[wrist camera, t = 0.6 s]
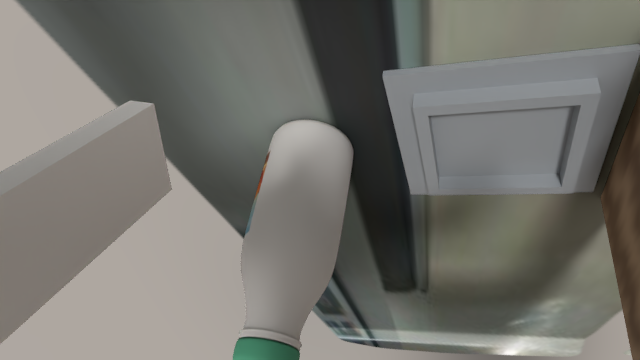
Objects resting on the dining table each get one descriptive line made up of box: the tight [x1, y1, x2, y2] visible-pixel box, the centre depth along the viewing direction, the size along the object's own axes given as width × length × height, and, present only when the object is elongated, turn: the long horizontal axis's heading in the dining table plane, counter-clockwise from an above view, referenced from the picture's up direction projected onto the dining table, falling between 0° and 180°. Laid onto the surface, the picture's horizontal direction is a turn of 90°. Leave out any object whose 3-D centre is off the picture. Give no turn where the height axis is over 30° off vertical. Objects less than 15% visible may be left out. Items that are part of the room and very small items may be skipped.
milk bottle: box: [233, 119, 354, 360], centre depth 37 cm, size 8×8×20 cm
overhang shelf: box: [601, 93, 640, 360], centre depth 27 cm, size 20×14×32 cm
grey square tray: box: [383, 44, 640, 195], centre depth 36 cm, size 16×16×2 cm
